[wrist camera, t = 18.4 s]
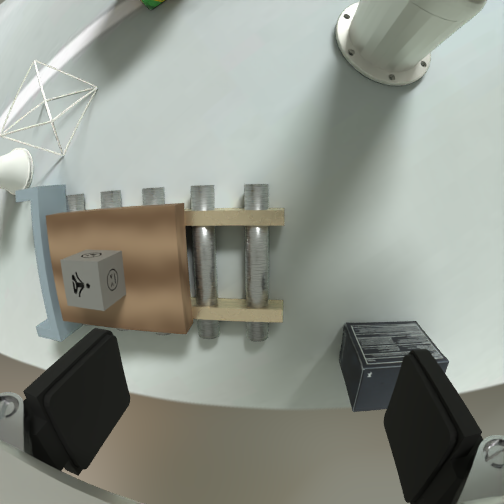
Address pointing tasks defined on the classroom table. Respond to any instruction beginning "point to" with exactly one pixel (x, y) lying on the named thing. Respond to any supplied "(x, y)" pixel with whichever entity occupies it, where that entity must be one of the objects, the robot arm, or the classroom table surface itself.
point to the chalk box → (152, 3)
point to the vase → (16, 170)
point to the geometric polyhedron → (48, 110)
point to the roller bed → (204, 254)
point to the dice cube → (93, 278)
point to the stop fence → (47, 256)
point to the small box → (379, 359)
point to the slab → (130, 264)
